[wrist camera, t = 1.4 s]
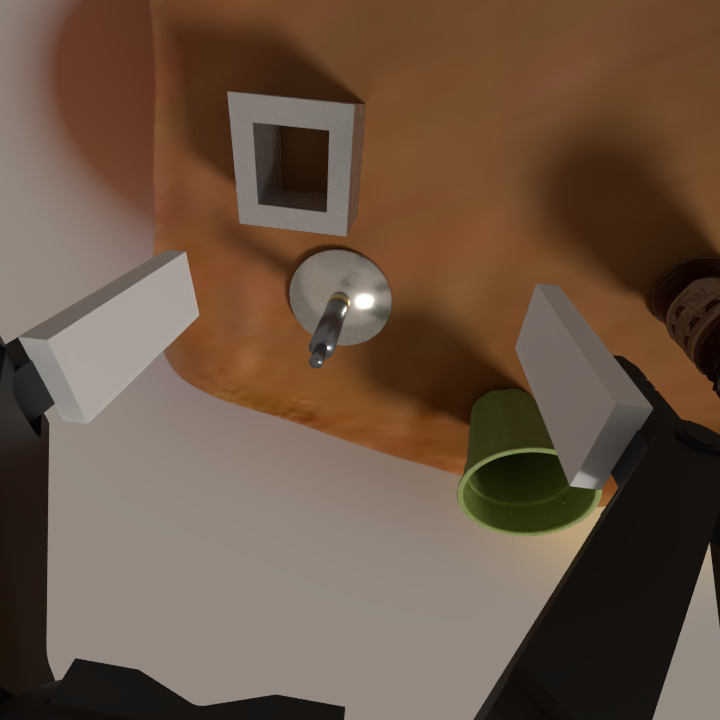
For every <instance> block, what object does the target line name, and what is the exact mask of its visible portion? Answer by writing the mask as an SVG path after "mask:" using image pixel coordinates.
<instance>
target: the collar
mask: <svg viewBox="0 0 720 720" xmlns="http://www.w3.org/2000/svg"><path fill="white" fill-rule="evenodd" d="M227 94H228V105H229V115H230V126H231V136H232V147H233V157H234V168H235V178H236V189H237V199H238V210H239V220H240V223H241V224H249V225H257V226H266V227H274V228H282V229H290V230H298V231H306V232H314V233H322V234H330V235H338V236H347V234H348V233H349V231H350V229H351V227H352V225H353V223H354V221H355V219H356V218H357V214H358V201H359V188H360V175H361V162H362V148H363V135H364V122H365V109H366V104H361V103H352V102H342V101H332V100H322V99H313V98H303V97H293V96H284V95H274V94H264V93H248V92H229V91H227ZM281 125H282V126H291V127H301V128H310V129H319V130H329V159H328V191H327V194H325V193H316V192H308V191H299V190H291V189H283V181H282V149H281Z"/></svg>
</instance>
